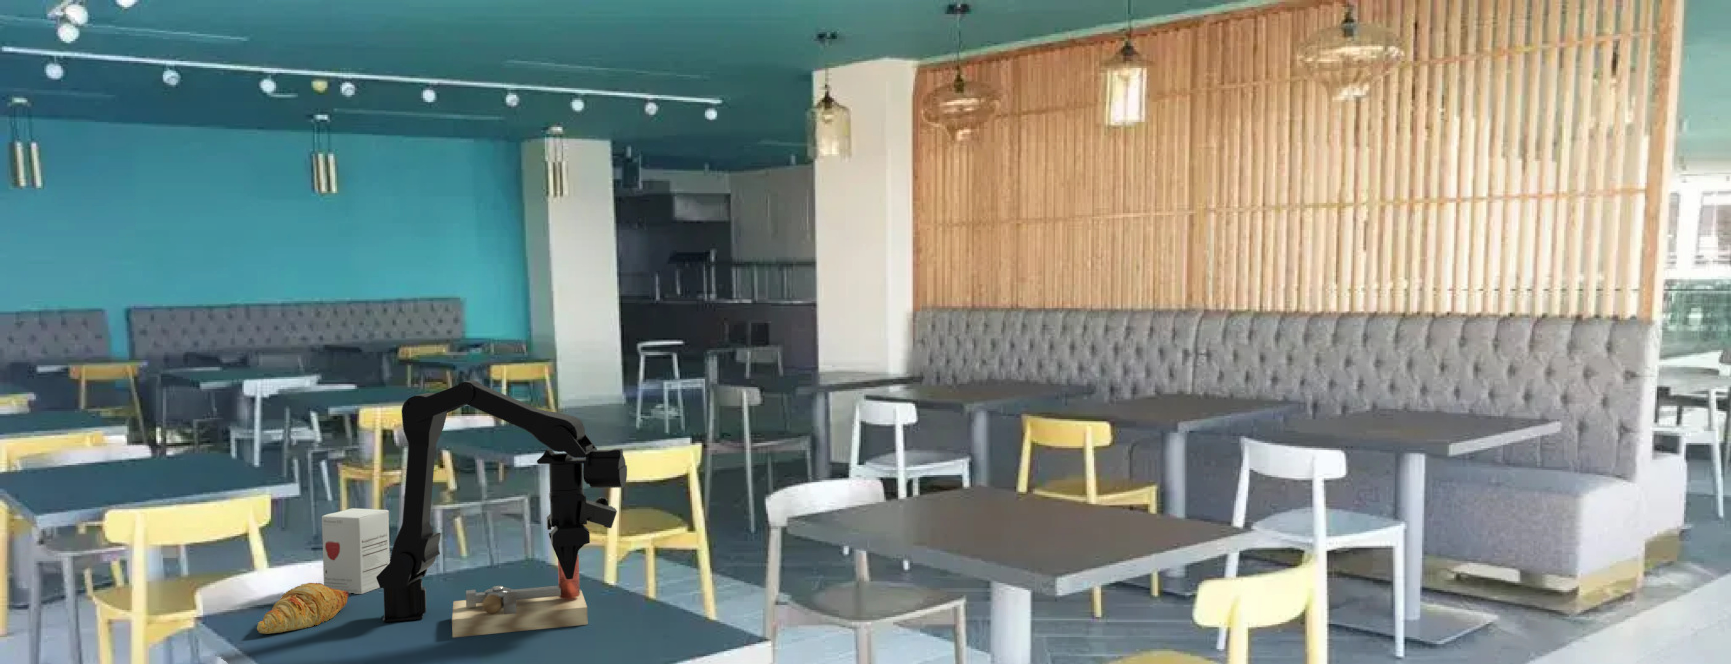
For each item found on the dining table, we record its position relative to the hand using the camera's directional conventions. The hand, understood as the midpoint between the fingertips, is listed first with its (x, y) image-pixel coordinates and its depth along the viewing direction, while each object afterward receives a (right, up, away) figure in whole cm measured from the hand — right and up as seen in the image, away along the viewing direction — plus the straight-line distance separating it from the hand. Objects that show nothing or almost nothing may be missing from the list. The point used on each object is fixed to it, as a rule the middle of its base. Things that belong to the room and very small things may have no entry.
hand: (568, 576), depth 216 cm
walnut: (-11, -5, -9) cm, 15 cm away
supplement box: (-47, -7, +24) cm, 54 cm away
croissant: (-47, -8, 0) cm, 47 cm away
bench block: (-8, -7, -3) cm, 11 cm away
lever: (-7, -4, -2) cm, 9 cm away
